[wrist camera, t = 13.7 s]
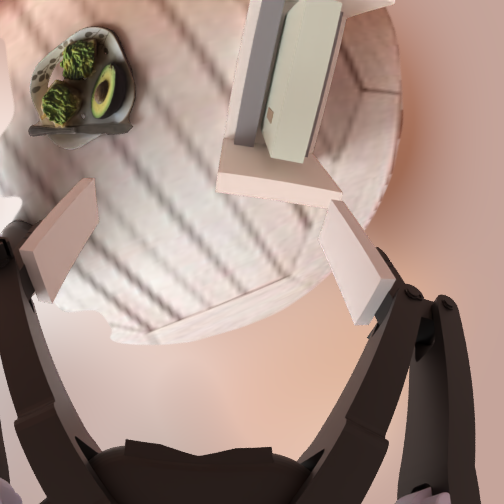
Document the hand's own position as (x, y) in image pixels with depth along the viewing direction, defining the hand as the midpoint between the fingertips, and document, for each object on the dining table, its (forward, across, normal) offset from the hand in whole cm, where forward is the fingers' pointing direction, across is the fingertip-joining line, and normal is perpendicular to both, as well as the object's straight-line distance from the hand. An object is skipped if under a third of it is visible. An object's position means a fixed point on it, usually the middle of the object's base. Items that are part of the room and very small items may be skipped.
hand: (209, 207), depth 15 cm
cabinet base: (+24, +7, +8) cm, 27 cm away
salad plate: (+26, -20, +5) cm, 33 cm away
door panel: (+23, +7, +8) cm, 25 cm away
